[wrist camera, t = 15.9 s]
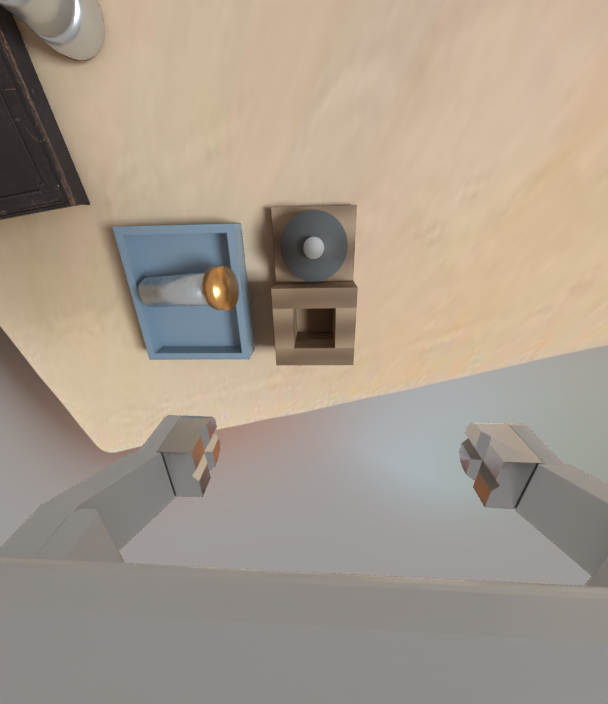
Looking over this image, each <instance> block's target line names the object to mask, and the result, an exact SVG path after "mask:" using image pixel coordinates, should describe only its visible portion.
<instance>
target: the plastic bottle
mask: <svg viewBox="0 0 608 704" xmlns="http://www.w3.org/2000/svg"><path fill="white" fill-rule="evenodd" d="M0 4H1V5H2V6H3V7H4V8H6V9H7V10H8V11H10V12H11V13H12V14H13V15H15V16H16V17H17V18H18V19H20V20H21V21H22V22H24V23H25V24H26V25H27V26H29V27H30V28H31V30H32V31H33V32H34V33H35V34H37V35H38V36H39V37H40V38H41V39H42V40H43V41H44V42H46V43H47V44H48V45H49V46H50V47H52V48H53V49H54V50H56V51H57V52H59V53H61V54H63V55H66V56H68V57H71V58H73V59H77V60H87V59H90V58H92V57H93V56H95V55H96V54H97V53H98V52H99V51H100V50H101V48H102V46H103V43H104V38H105V25H104V19H103V14H102V11H101V8H100V5H99V3H98V1H97V0H0Z"/></svg>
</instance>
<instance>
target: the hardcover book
mask: <svg viewBox="0 0 608 704" xmlns="http://www.w3.org/2000/svg"><path fill="white" fill-rule="evenodd" d="M82 204H84V205H90V202H89V200H88V198H87V195H86V193H85V190H84V188H83V185H82V183H81V181H80V178H79V176H78V173H77V171H76V168H75V166H74V163H73V161H72V159H71V156H70V154H69V151H68V149H67V146H66V144H65V142H64V139H63V137H62V134H61V132H60V129H59V127H58V125H57V122H56V120H55V117H54V115H53V113H52V110H51V108H50V105H49V103H48V100H47V98H46V96H45V93H44V91H43V88H42V86H41V83H40V81H39V79H38V76H37V74H36V71H35V69H34V66H33V64H32V62H31V59H30V57H29V54H28V52H27V49H26V47H25V45H24V42H23V40H22V37H21V35H20V32H19V30H18V28H17V25H16V23H15V20H14V18H13V15H12V13H11V12H10V11H8V10H7V9H6V8H4V7H3V6H2V5H1V4H0V220H2V219H8V218H13V217H18V216H24V215H29V214H34V213H40V212H45V211H50V210H55V209H61V208H66V207H71V206H77V205H82Z"/></svg>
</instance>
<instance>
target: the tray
mask: <svg viewBox="0 0 608 704" xmlns="http://www.w3.org/2000/svg"><path fill="white" fill-rule="evenodd" d="M112 228H113V232H114V235H115V239H116V242H117V246H118V249H119V253H120V256H121V260H122V264H123V267H124V271H125V274H126V278H127V281H128V285H129V288H130V292H131V296H132V299H133V303H134V306H135V310H136V313H137V317H138V320H139V324H140V328H141V331H142V335H143V338H144V342H145V345H146V349H147V352H148V356H149V360H173V359H250V357H251V355H252V353H253V351H254V341H253V331H252V322H251V313H250V303H249V294H248V284H247V275H246V266H245V256H244V247H243V237H242V228H241V224H197V225H159V226H121V227H112ZM216 266H227V267H229V268H230V269H231V270H232V271H233V272H234V274H235V276H236V278H237V281H238V286H239V297H238V301H237V304H236V305H235V307H234V308H233V309H231V310H215V309H213V308H211V307H210V306H185V307H156V308H152V307H148V306H147V305H145V304H144V303H143V302H142V300H141V299H140V296H139V292H138V288H139V284H140V282H141V281H142V280H143V279H144V278H147V277H159V276H172V275H184V274H196V273H205V272H206V271H207V269H209V268H210V267H216Z"/></svg>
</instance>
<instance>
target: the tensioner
mask: <svg viewBox="0 0 608 704" xmlns="http://www.w3.org/2000/svg"><path fill="white" fill-rule="evenodd" d="M356 210H357V205H334V206H300V207H271V213H272V229H273V244H274V260H275V275H276V282H275V284H274V285H273V287H272V288H271V296H272V309H273V323H274V337H275V351H276V365H353V360H354V342H355V324H356V306H357V286H356V284H355V283H354V281H353V272H354V252H355V231H356ZM312 308H333V332H297V319H296V309H312Z"/></svg>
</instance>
